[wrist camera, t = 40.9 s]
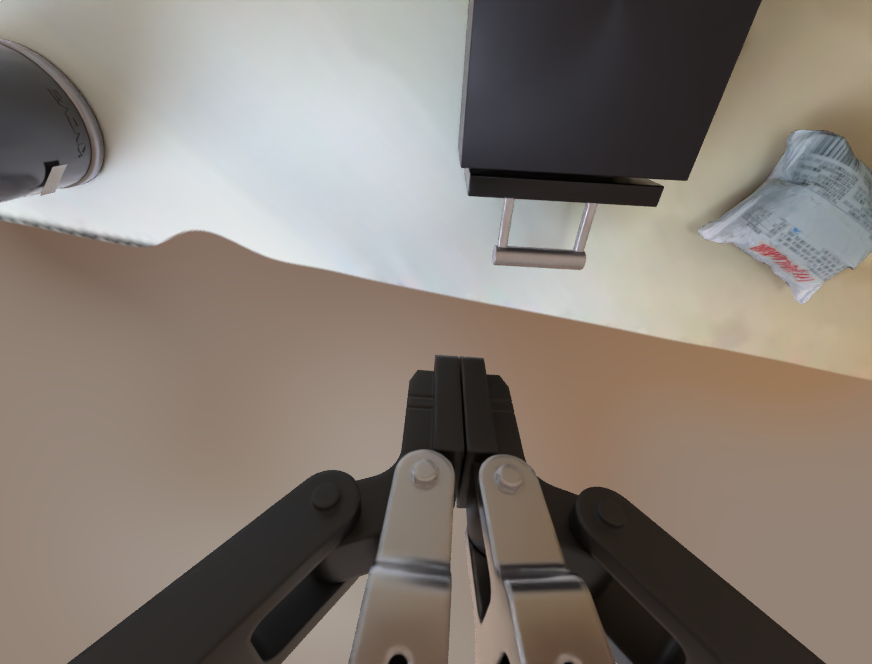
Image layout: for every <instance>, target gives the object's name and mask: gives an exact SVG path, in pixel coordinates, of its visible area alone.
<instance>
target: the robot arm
mask: <svg viewBox="0 0 872 664" xmlns="http://www.w3.org/2000/svg"><path fill="white" fill-rule="evenodd" d="M103 158H104V146H103V140H102V135H101V132H100V129H99V126H98V123H97V121H96V119H95V117H94V115H93V113H92V111H91V109H90V107H89V106H88V104H87V103H86V101H85V100H84V98H83V97H82V95H81V94H80V93H79V91H78V90H77V89H76V88H75V86H74V85H73V84H72V83H71V82H70V81H69V80H68V79H67V78H66V77H65V76H64V75H63V74H62V73H61V72H60V71H59V70H58V69H57V68H56V67H55V66H53V65H52V64H51V63H50V62H48V61H47V60H46V59H44V58H43V57H41V56H40V55H38V54H37V53H35V52H33V51H32V50H30V49H28V48H26V47H24V46H22V45H19V44H17V43H14V42H11V41H8V40H4V39H0V203H1V202H5V201H9V200H13V199H17V198H21V197H25V196H29V195H34V194H38V193H41V195H45V194H49V193H53V192H55V190H56V189H59V188H69V187H73V186H77V185H81V184H84V183H87V182H89V181H91V180H92V179H93V178H94V177H95V176H96V175H97V174H98V173H99V171H100V169H101V167H102V163H103ZM41 195H40V196H41ZM456 500H457V508H466V512H467V527H466V532H465V545H466V553H467V562H468V570H469V578H470V586H471V594H472V603H473V611H474V619H475V663H476V664H616V663H617V664H826V663H824V662H823V661H822V660H821V659H819V658H818V657H817V656H816V655H815V654H814V653H812V652H811V651H810V650H809V649H807V648H806V647H805V646H804V645H803V644H801V643H800V642H799V641H798V640H797V639H795V638H794V637H793V636H792V635H791V634H789V633H788V632H787V631H786V630H784V629H783V628H782V627H781V626H780V625H778V624H777V623H776V622H775V621H774V620H772V619H771V618H770V617H769V616H767V615H766V614H765V613H764V612H763V611H761V610H760V609H759V608H758V607H757V606H755V605H754V604H753V603H752V602H751V601H749V600H748V599H747V598H746V597H744V596H743V595H742V594H741V593H739V592H738V591H737V590H736V589H735V588H733V587H732V586H731V585H730V584H729V583H727V582H726V581H725V580H724V579H723V578H721V577H720V576H719V575H718V574H717V573H715V572H714V571H713V570H712V569H710V568H709V567H708V566H707V565H706V564H704V563H703V562H702V561H701V560H700V559H698V558H697V557H696V556H695V555H693V554H692V553H691V552H690V551H688V550H687V549H686V548H685V547H684V546H683V545H681V544H680V543H679V542H678V541H676V540H675V539H674V538H673V537H671V536H670V535H669V534H668V533H667V532H666V531H664V530H663V529H662V528H661V527H659V526H658V525H657V524H656V523H655V522H653V521H652V520H651V519H650V518H649V517H647V516H646V515H645V514H644V513H643V512H641V511H640V510H639V509H638V508H636V507H635V506H634V505H633V504H631V503H630V502H629V501H628V500H627V499H625V498H624V497H623V496H621V495H620V494H618V493H616V492H614V491H612V490H610V489H607V488H602V487H590V488H587V489H585V490H584V491H582V492H581V494H580V495H576V494H573V493H571V492H568V491H565V490H562V489H559V488H557V487H554V486H552V485H550V484H548V483H546V482H544V481H543V480H541V479H540V478H539V477H538V476H537V475H536V474H535V472H534V470H533V469H532V468H531V467H530V466H529V465H528V464H527V462H526V460H525V457H524V453H523V449H522V444H521V440H520V435H519V432H518V427H517V422H516V418H515V415H514V409H513V404H512V400H511V396H510V391H509V387H508V386H507V385H506V383H505V382H504V381H503V379H502V378H501V377H500V376H499V375H486V370H485V363H484V359H483V358H476V357H475V358H474V357H460V358H459V357H458V356H444V355H435V364H434V371H424V370H417V372H416V373H415V374H414V376H413V377H412V379H411V380H410V382H409V390H408V399H407V408H406V416H405V425H404V434H403V442H402V450H401V454H400V456H399V458H398V460H397V462H396V463H395V464H394V465H393V466H392V467H391V468H390V469H388V470H387V471H385V472H383V473H382V474H379V475H377V476H373V477H369V478H365V479H361V480H357V481H355V480H354V478H353V477H352V476H350V475H349V474H347V473H345V472H342V471H337V470H328V471H323V472H320V473H317V474H315V475H313V476H311V477H310V478H308V479H307V480H305V481H304V482H303V483H302V484H300V485H299V486H297V487H296V488H295V489H294V490H292V491H291V492H290V493H289V494H287V495H286V496H285V497H283V498H282V499H281V500H279V501H278V502H277V503H275V504H274V505H273V506H271V507H270V508H269V509H268V510H266V511H265V512H264V513H262V514H261V515H260V516H258V517H257V518H256V519H255V520H254V521H252V522H251V523H250V524H248V525H247V526H246V527H244V528H243V529H242V530H240V531H239V532H238V533H236V534H235V535H234V536H232V537H231V538H230V539H229V540H227V541H226V542H225V543H223V544H222V545H221V546H220V547H218V548H217V549H216V550H214V551H213V552H212V553H210V554H209V555H208V556H206V557H205V558H204V559H203V560H201V561H200V562H199V563H197V564H196V565H195V566H193V567H192V568H191V569H190V570H188V571H187V572H186V573H184V574H183V575H182V576H181V577H179V578H178V579H177V580H175V581H174V582H173V583H171V584H170V585H169V586H168V587H166V588H165V589H164V590H162V591H161V592H160V593H158V594H157V595H156V596H154V597H153V598H152V599H151V600H149V601H148V602H147V603H146V604H144V605H143V606H141V607H140V608H139V609H138V610H136V611H135V612H134V613H132V614H131V615H130V616H128V617H127V618H126V619H125V620H123V621H122V622H121V623H119V624H118V625H117V626H115V627H114V628H113V629H112V630H110V631H109V632H108V633H106V634H105V635H104V636H103V637H101V638H100V639H99V640H97V641H96V642H95V643H93V644H92V645H91V646H89V647H88V648H87V649H86V650H84V651H83V652H82V653H80V654H79V655H78V656H77V657H75V658H74V659H73V660H71V661H70V662H69V663H68V664H281V663H282V662H283V661H284V660H285V659H286V658H287V657H288V655H289V654H290V653H291V652H292V651H293V650H294V649H295V648H296V647H297V646H298V644H299V643H300V642H301V641H302V640H303V639H304V638H305V637H306V635H307V634H308V633H309V632H310V631H311V630H312V629H313V628H314V627H315V626H316V624H317V623H318V622H319V621H320V620H321V619H322V618H323V617H324V616H325V615H326V613H327V612H328V611H329V610H330V609H331V608H332V607H333V606H334V605H335V603H336V602H337V601H338V600H339V599H340V598H341V597H342V596H343V595H344V594H345V592H346V591H347V590H348V589H349V588H350V587H351V586H352V585H353V584H354V582H355V581H356V580H357V579H358V577H359V576H362V575H365V574H368V573H369V575H368V579H367V583H366V587H365V591H364V596H363V600H362V605H361V609H360V614H359V618H358V623H357V627H356V632H355V636H354V641H353V645H352V650H351V654H350V658H349V663H348V664H448V650H449V631H450V608H451V583H452V582H451V572H450V560H451V541H452V522H453V508H454V506H455V501H456ZM615 662H616V663H615Z"/></svg>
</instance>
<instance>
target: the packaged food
mask: <svg viewBox="0 0 872 664" xmlns="http://www.w3.org/2000/svg"><path fill="white" fill-rule="evenodd" d="M786 141H787V148H786V151H785V153H784V155H783V156H781V158H780V160H779V162H778V163H777V165H776V166H775V168H774V170H773V171H772V172H771V174H770V175H769V177H768V178H767V180H766V181H765V182H764V183H763V184H762V185H761V186H760V187H758V188H757V189H756V190H755V191H754V192H753V193H752V194H751V195H750V196H748V197H747V198H746V199H745V200H743V201H742V202H740V203H739V204H738V205H736V206H735V207H734V208H732V209H731V210H730V211H728V212H727V213H725V214H724V215H723V216H721V217H720V218H719V219H717V220H715V221H712V222H709V223H708V224H707V225H705V226H703V227H702V228H700V229H698V232H699V234H700V235H701V237H703V238H704V239H705V240H710V241H714V242H717V243H733V244H735V245H736V246H737V247H739V248H740V249H742V250H743V251H744V252H745V253H747V254H748V255H750V256H752V257H753V258H755V259H756V260H758V261H761V262H763V263H765V264H768V265H769V266H770V268H771V269H772V271H773V273H774V274H776V275H777V276H778V277H780V278H781V279H782V280H783V281H785V282H786V283H787V285H788V286H789V287H790V290H791V292H792V294H793V296H794V298H795V300H796V301H797V302H799V303H801V304H803V303H805V302H807V301H808V300H809V299H810V298H811V296H812V295H813V294H814V292H815V291H817V290H818V289H819V288H820V287H821V285H822V284H823V283H824V282H825V281H827V280H828V279H830V278H831V277H833V276H835V275H836V274H838V273H839V272H841V271H842V270H844V269H845V268H851V269H852V270H853V269H854V268H855V267H856V266H857V265H859V264H860V263H861V262H862V261H863V260H864V259H865V258H866V257H867V256H868V255H869V254H870V253H871V252H872V170H871V169H870V168H869V167H867V166H866V165H865V164H864V163H863V162H862V161H860V160H858V159H857V158H856V157H855V155H854V153H853V152H852V150H851V148H850V146H849V144H848V142H847V141H846V139H845V138H844V137H841V136H840V135H837V134H834V133H833V132H829V131H822V130H817V131H809V130H796V131H795V132H791V134H790V135H789V137H788V138H787V139H786ZM803 296H804V297H803Z"/></svg>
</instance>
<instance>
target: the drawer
mask: <svg viewBox="0 0 872 664" xmlns="http://www.w3.org/2000/svg"><path fill="white" fill-rule="evenodd" d="M465 180H466V186H467V192H468V196H478V197H495V198H504V205H503V211H502V218H501V225H500V232H499V238H498V245H495V246H494V249H493V256H492V262H493V265H505V266H522V267H539V268H555V269H572V270H581V269H583V267H584V265H585V261H586V254H585V251H584V248H585V244H586V241H587V238H588V234H589V231H590V227H591V224H592V220H593V217H594V214H595V210H596V207H597V203H598V204H615V205H632V206H649V207H656V206H657V204H658V202H659V199H660V197H661V194H662V191H663V189H664V186H662V185H660V184H658V183H655V182H653V181H651V180H649V179H646V178H629V177H612V176H595V175H578V174H561V173H544V172H526V171H509V170H492V169H475V168H465ZM515 199H529V200H546V201H563V202H581V203H586V204H585V208H584V211H583V215H582V219H581V222H580V226H579V230H578V233H577V237H576V241H575V244H574V248H573V249H574V250H566V249H549V248H532V247H515V246H507V242H508V236H509V230H510V224H511V218H512V212H513V206H514V200H515Z"/></svg>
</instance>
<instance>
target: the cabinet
mask: <svg viewBox="0 0 872 664" xmlns="http://www.w3.org/2000/svg"><path fill="white" fill-rule="evenodd" d="M761 1H762V0H469V8H468V21H467V35H466V49H465V62H464V76H463V89H462V103H461V116H460V130H459V143H458V149H459V157H460V165H461V168H475V169H492V170H509V171H526V172H544V173H561V174H578V175H595V176H612V177H629V178H647V179H664V180H681V181H687V180H688V177H689V175H690V173H691V170H692V168H693V165H694V163H695V161H696V158H697V156H698V153H699V151H700V148H701V146H702V144H703V141H704V139H705V136H706V134H707V131H708V129H709V127H710V124H711V122H712V119H713V117H714V115H715V112H716V110H717V107H718V105H719V102H720V100H721V98H722V95H723V93H724V90H725V88H726V85H727V83H728V81H729V78H730V76H731V73H732V71H733V69H734V66H735V64H736V61H737V59H738V56H739V54H740V52H741V49H742V47H743V44H744V42H745V39H746V37H747V35H748V32H749V30H750V27H751V25H752V23H753V20H754V18H755V15H756V13H757V10H758V8H759V6H760V3H761Z"/></svg>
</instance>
